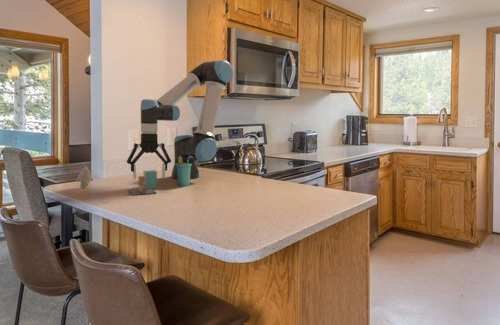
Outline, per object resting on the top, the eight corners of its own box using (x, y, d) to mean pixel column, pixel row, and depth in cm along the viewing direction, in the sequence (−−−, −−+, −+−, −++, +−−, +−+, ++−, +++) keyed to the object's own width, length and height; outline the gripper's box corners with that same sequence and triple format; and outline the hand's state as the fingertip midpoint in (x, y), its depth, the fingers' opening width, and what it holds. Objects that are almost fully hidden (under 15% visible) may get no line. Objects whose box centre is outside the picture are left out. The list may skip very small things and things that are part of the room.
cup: (200, 186, 188) (200, 155, 186) (187, 188, 182) (187, 156, 181) (182, 183, 198) (182, 153, 196) (169, 184, 192) (169, 154, 190)
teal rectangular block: (154, 185, 189) (154, 170, 188) (157, 187, 184) (156, 171, 184) (143, 186, 187) (143, 170, 186) (146, 188, 182) (145, 172, 181)
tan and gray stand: (151, 189, 179) (151, 174, 178) (156, 193, 170) (156, 177, 169) (128, 191, 175) (128, 175, 174) (132, 195, 166) (132, 179, 165)
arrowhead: (78, 189, 179) (77, 167, 177) (75, 188, 180) (74, 167, 179) (94, 187, 184) (94, 166, 183) (92, 186, 186) (91, 165, 185)
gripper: (173, 132, 191) (173, 175, 194) (120, 132, 180) (120, 178, 183) (177, 133, 185) (177, 178, 187) (122, 133, 174) (123, 180, 176)
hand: (149, 178), depth 185 cm, fingers open, 13 cm apart
